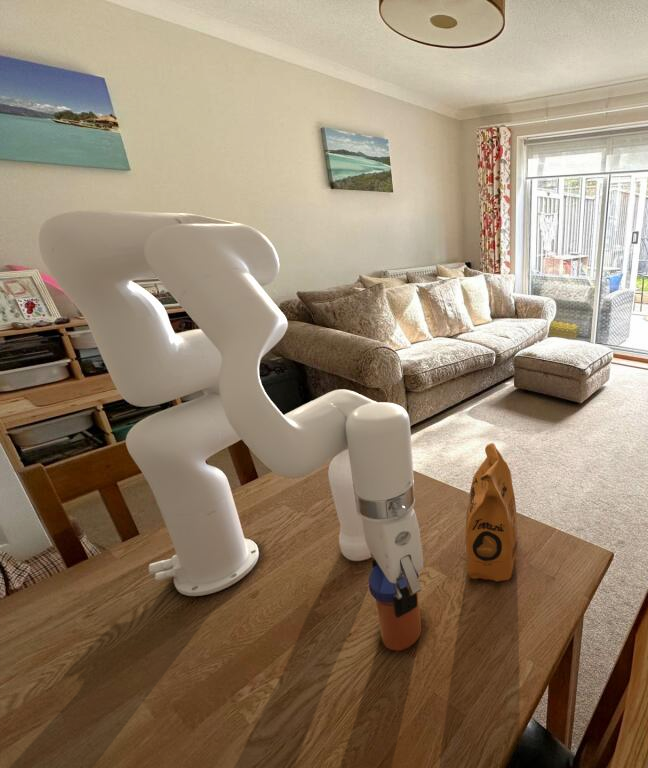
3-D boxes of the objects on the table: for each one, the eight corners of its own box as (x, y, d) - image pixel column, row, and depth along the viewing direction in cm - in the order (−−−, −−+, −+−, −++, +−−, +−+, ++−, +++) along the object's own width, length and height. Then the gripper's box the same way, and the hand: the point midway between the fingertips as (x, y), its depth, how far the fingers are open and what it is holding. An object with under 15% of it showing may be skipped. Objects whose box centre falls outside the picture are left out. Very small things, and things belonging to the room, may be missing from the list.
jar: (386, 657, 59) (378, 606, 55) (377, 624, 64) (370, 575, 60) (426, 639, 62) (421, 589, 58) (415, 608, 67) (410, 560, 63)
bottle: (371, 566, 74) (350, 422, 63) (332, 559, 76) (305, 416, 65) (392, 536, 82) (376, 401, 71) (355, 529, 83) (335, 397, 72)
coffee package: (458, 582, 72) (455, 478, 64) (470, 532, 83) (469, 439, 75) (514, 586, 71) (518, 482, 63) (518, 536, 83) (522, 442, 74)
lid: (400, 557, 64) (399, 548, 63) (427, 581, 59) (427, 573, 59) (360, 583, 59) (359, 574, 58) (386, 612, 55) (385, 603, 54)
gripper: (443, 519, 49) (447, 621, 56) (386, 456, 62) (394, 546, 68) (384, 546, 45) (396, 654, 51) (335, 473, 57) (349, 568, 64)
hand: (395, 592), depth 60 cm, fingers closed on lid, 6 cm apart
